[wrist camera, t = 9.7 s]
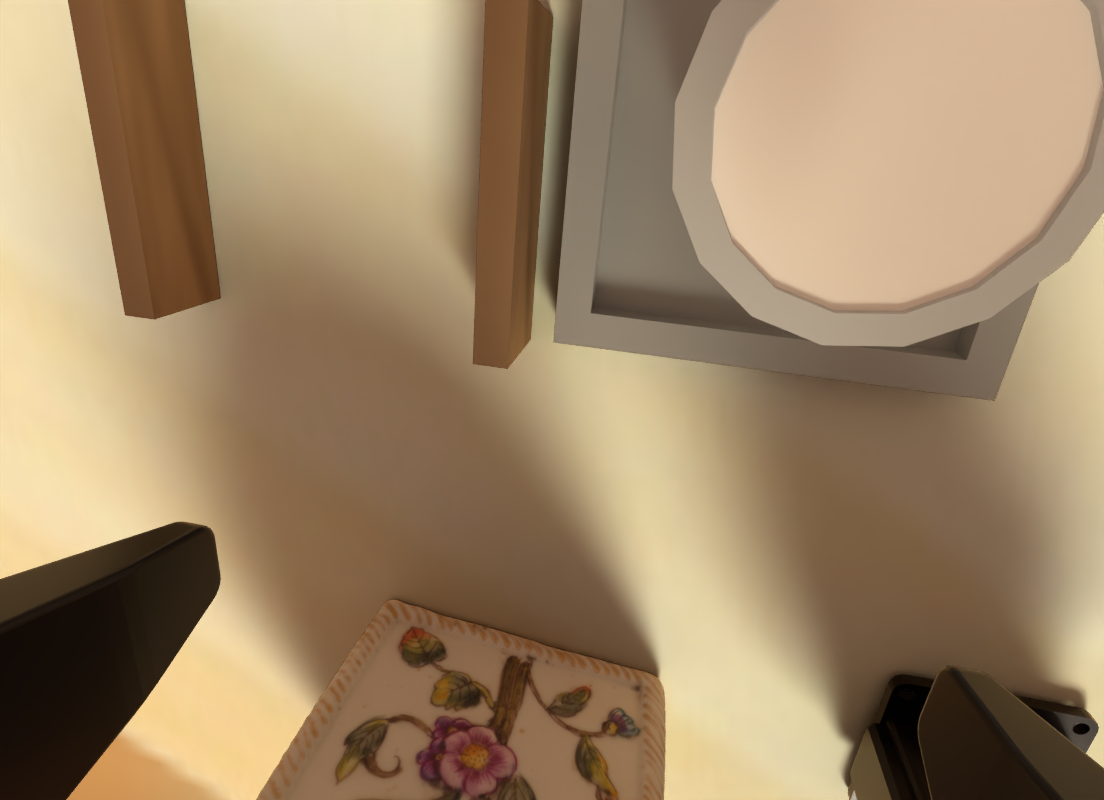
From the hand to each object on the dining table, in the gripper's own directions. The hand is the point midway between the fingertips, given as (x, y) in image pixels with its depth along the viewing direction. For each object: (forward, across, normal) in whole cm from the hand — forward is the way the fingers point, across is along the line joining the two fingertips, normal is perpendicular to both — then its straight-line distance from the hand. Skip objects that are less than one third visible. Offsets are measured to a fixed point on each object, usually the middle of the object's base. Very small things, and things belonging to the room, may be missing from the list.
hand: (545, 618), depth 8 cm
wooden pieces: (+13, +9, -4) cm, 16 cm away
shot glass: (+12, -4, -6) cm, 14 cm away
